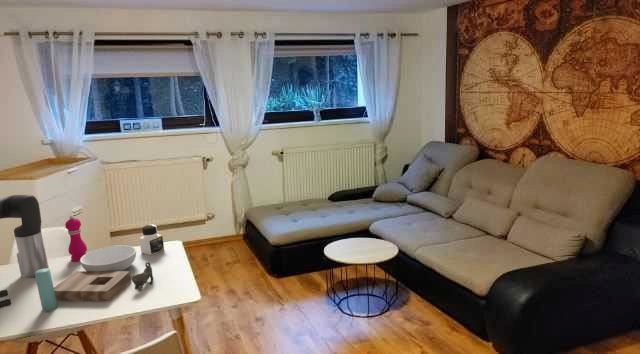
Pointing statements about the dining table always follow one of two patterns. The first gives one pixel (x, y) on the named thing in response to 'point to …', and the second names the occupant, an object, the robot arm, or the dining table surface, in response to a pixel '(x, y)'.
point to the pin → (46, 289)
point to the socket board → (92, 286)
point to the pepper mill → (75, 239)
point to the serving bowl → (109, 258)
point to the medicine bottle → (151, 240)
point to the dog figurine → (143, 277)
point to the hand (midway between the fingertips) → (9, 296)
